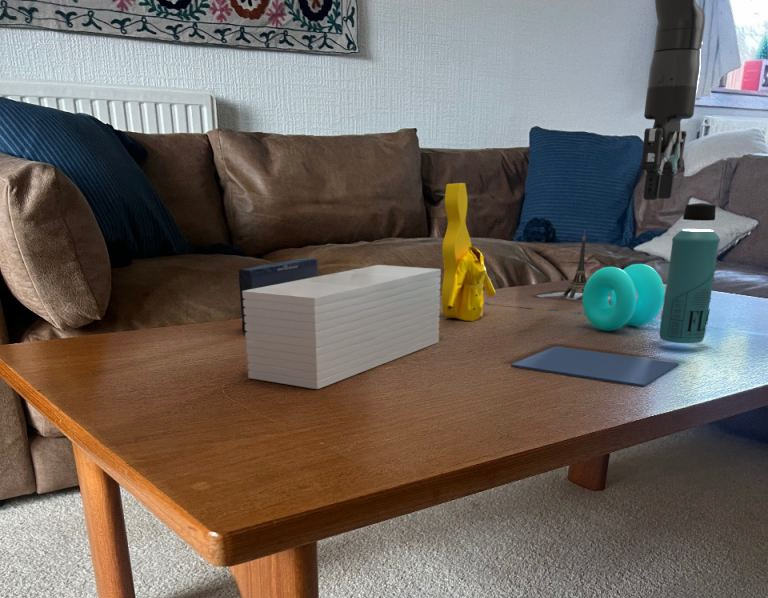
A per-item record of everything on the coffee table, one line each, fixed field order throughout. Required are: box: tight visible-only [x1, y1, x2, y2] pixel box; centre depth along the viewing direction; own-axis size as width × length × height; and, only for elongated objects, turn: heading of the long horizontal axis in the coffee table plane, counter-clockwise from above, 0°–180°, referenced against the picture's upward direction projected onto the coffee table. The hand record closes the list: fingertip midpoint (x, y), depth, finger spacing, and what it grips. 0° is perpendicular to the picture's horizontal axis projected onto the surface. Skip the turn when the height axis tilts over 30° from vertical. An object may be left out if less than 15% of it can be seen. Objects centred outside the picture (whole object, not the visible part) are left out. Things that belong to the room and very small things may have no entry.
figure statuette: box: [441, 182, 497, 322], centre depth 134 cm, size 18×8×22 cm, turn 148°
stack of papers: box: [242, 264, 442, 390], centre depth 107 cm, size 32×11×11 cm, turn 149°
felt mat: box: [510, 346, 680, 388], centre depth 105 cm, size 18×14×1 cm
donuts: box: [581, 263, 665, 332], centre depth 128 cm, size 10×10×10 cm
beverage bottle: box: [659, 202, 721, 344], centre depth 111 cm, size 6×7×20 cm
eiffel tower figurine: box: [536, 231, 611, 301], centre depth 154 cm, size 15×10×13 cm
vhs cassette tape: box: [238, 257, 319, 334], centre depth 130 cm, size 18×3×10 cm, turn 148°
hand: (657, 198), depth 130 cm, fingers open, 6 cm apart
